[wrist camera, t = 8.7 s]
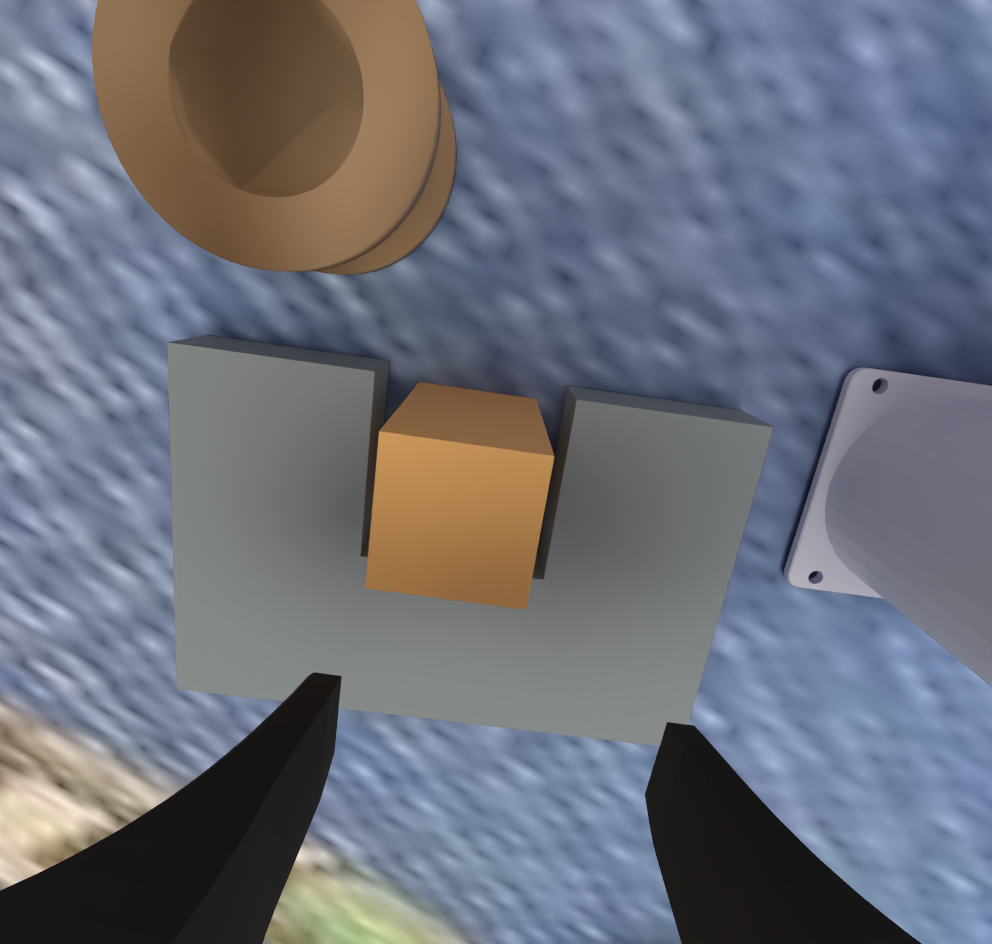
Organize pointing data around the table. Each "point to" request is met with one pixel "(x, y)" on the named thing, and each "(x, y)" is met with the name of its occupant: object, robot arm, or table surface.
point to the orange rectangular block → (459, 496)
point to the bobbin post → (280, 126)
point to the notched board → (435, 621)
